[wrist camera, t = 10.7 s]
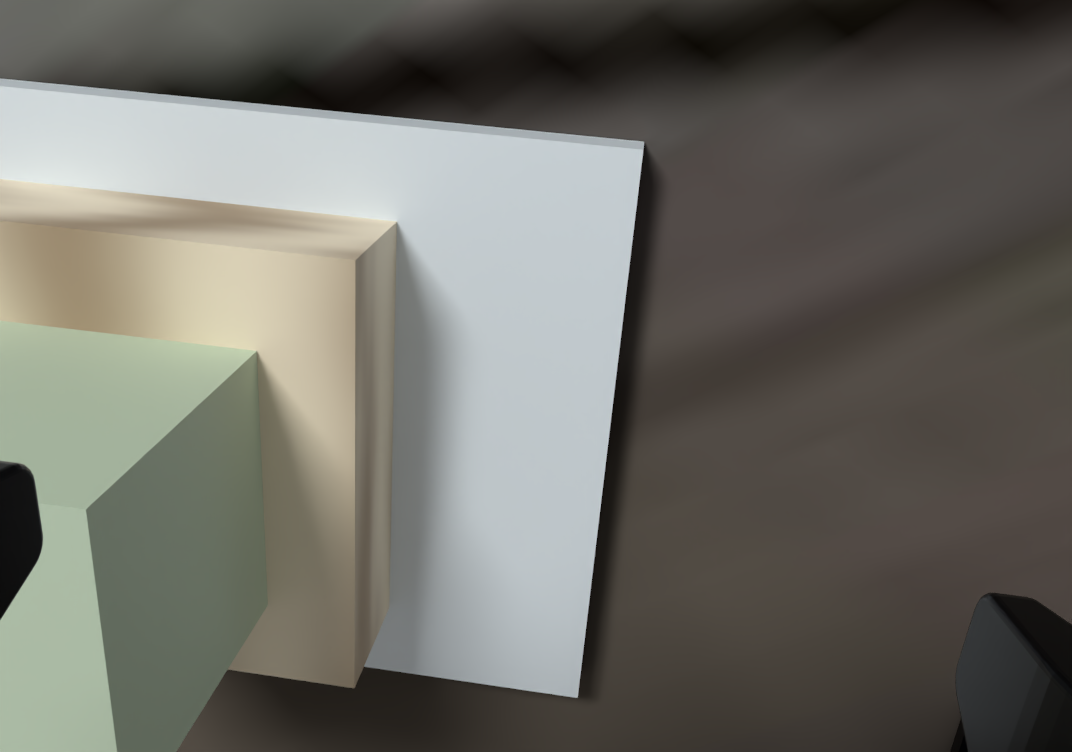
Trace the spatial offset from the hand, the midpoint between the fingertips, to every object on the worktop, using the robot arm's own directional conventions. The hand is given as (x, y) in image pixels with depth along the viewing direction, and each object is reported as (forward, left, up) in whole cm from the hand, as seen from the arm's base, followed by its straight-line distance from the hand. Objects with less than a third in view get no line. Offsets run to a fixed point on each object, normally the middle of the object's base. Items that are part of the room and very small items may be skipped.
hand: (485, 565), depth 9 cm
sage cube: (+9, +5, -9) cm, 14 cm away
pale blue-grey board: (+9, +5, -13) cm, 17 cm away
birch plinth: (+9, +5, -12) cm, 16 cm away
